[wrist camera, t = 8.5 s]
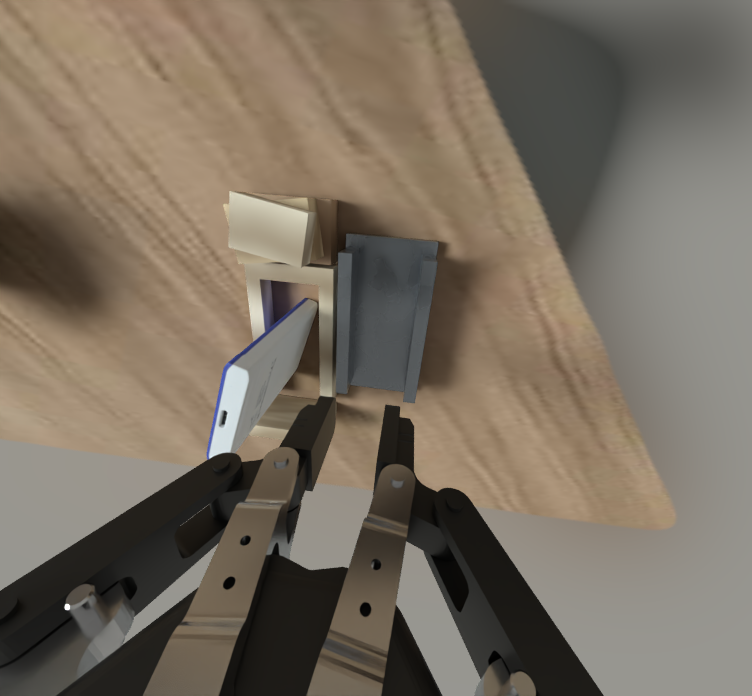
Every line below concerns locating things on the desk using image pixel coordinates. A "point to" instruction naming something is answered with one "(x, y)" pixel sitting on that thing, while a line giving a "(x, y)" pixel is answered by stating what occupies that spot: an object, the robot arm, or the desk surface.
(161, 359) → the desk surface
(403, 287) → the stand
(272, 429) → the frame
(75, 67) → the desk surface
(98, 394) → the desk surface
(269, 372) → the hard drive
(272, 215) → the offcut stack
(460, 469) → the desk surface
